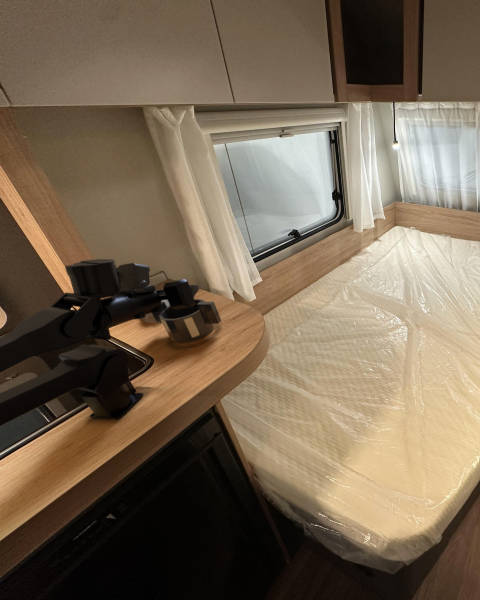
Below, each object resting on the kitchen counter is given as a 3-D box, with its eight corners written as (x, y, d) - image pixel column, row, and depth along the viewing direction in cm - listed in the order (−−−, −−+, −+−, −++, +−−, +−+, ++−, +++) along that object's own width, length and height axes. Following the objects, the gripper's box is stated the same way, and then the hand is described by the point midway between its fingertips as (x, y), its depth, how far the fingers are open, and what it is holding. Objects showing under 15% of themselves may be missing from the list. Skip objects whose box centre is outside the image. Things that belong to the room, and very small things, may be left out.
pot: (212, 343, 81) (199, 314, 76) (149, 342, 83) (132, 314, 78) (234, 320, 90) (223, 292, 86) (176, 320, 92) (163, 293, 87)
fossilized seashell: (133, 315, 94) (134, 293, 92) (172, 309, 103) (173, 289, 101) (153, 330, 90) (154, 308, 88) (191, 322, 100) (193, 302, 97)
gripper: (144, 262, 61) (203, 251, 75) (68, 276, 64) (139, 263, 79) (165, 317, 64) (218, 296, 78) (92, 327, 67) (156, 305, 82)
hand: (182, 289), depth 79 cm, fingers open, 9 cm apart
